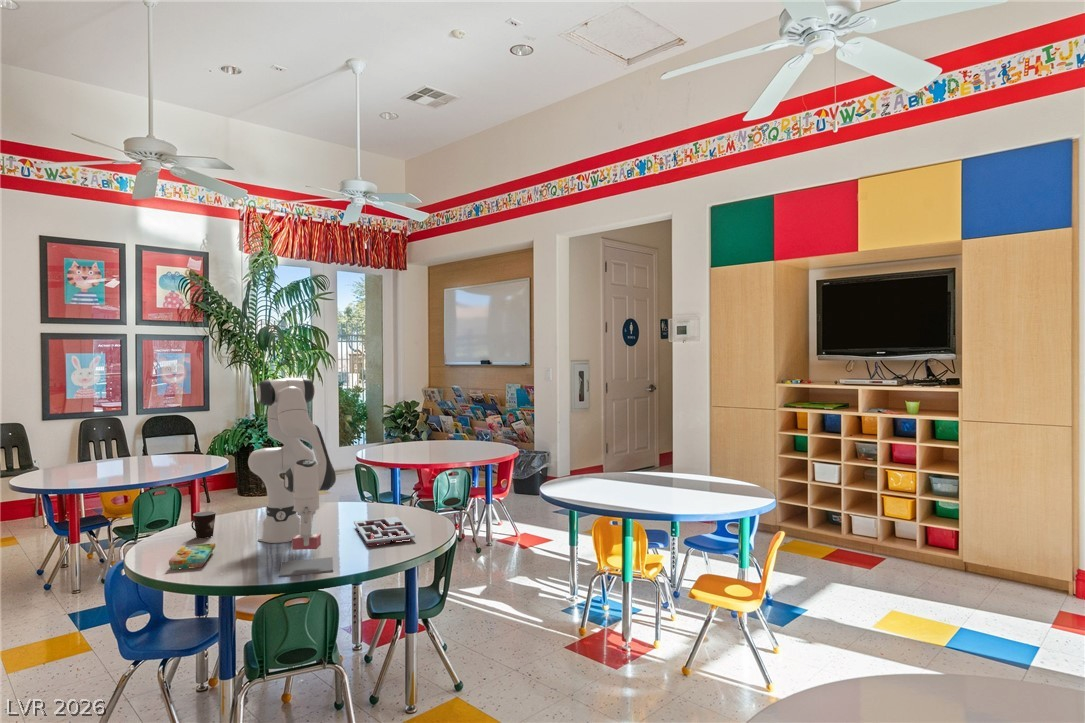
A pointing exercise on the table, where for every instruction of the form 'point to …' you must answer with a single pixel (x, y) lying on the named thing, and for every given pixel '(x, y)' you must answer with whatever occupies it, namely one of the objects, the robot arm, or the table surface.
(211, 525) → the coffee mug
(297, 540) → the card deck
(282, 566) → the mat
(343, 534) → the table surface
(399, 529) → the maze game
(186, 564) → the puzzle game
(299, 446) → the robot arm
